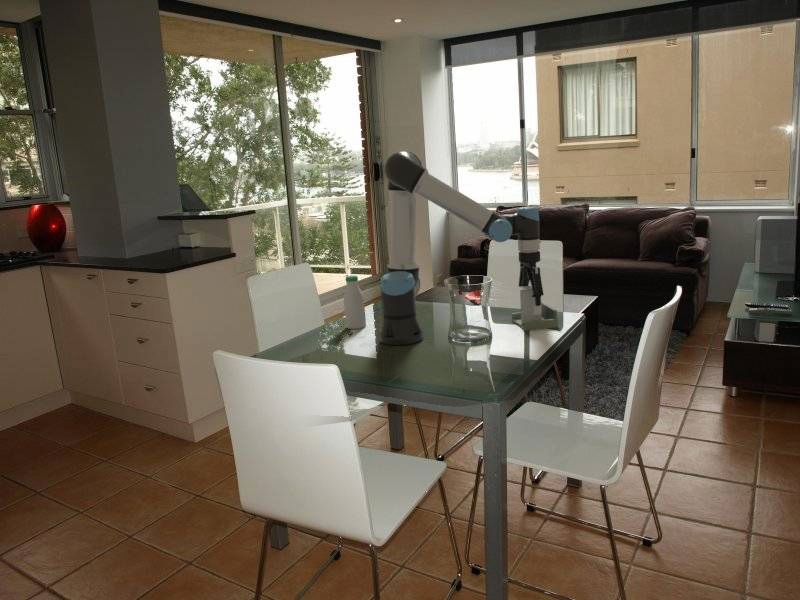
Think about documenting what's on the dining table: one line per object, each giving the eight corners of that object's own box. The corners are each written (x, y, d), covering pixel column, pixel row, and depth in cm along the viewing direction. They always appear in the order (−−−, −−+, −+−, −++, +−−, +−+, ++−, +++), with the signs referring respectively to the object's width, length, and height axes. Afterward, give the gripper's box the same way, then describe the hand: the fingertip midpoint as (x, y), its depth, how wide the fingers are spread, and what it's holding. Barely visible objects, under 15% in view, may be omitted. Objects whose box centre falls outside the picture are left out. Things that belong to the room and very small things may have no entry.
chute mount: (525, 331, 228) (524, 314, 227) (511, 321, 243) (511, 305, 241) (558, 327, 230) (557, 310, 228) (542, 317, 244) (542, 302, 243)
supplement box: (541, 323, 232) (540, 289, 229) (520, 324, 233) (519, 289, 231) (542, 318, 239) (541, 285, 236) (521, 319, 240) (520, 285, 238)
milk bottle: (365, 328, 248) (360, 277, 244) (345, 330, 248) (340, 279, 244) (366, 323, 256) (362, 273, 251) (347, 325, 256) (342, 275, 252)
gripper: (552, 254, 219) (553, 316, 224) (527, 245, 242) (529, 302, 247) (530, 256, 218) (532, 319, 223) (508, 247, 241) (510, 304, 246)
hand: (531, 310), depth 235 cm, fingers open, 11 cm apart
